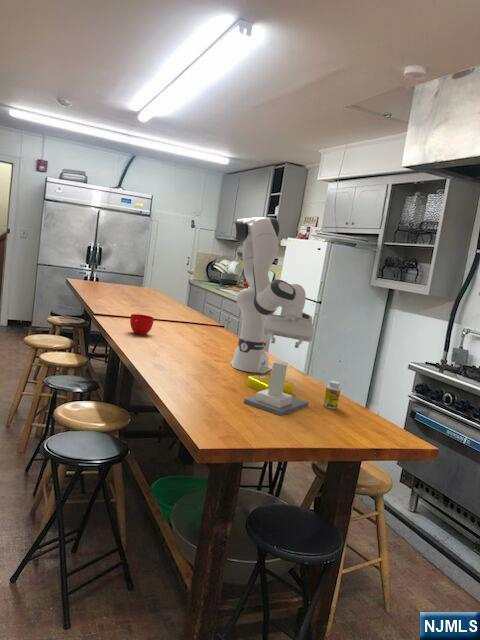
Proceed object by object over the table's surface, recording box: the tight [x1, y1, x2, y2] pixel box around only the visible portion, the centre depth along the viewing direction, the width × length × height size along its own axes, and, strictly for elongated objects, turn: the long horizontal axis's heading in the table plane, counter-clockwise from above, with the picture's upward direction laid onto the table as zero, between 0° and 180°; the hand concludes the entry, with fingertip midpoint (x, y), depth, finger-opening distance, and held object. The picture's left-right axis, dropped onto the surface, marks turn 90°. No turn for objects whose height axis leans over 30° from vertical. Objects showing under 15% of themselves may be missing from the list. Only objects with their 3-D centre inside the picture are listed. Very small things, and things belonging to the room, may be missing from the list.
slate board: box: [243, 389, 309, 417], centre depth 188 cm, size 22×16×4 cm
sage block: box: [268, 359, 289, 397], centre depth 184 cm, size 5×5×12 cm
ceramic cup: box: [129, 313, 155, 336], centre depth 279 cm, size 13×17×10 cm
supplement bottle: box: [322, 380, 341, 409], centre depth 196 cm, size 6×6×10 cm
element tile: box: [246, 374, 295, 395], centre depth 208 cm, size 15×15×5 cm
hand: (284, 344), depth 195 cm, fingers open, 8 cm apart
